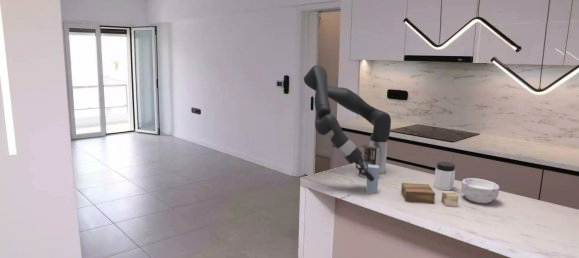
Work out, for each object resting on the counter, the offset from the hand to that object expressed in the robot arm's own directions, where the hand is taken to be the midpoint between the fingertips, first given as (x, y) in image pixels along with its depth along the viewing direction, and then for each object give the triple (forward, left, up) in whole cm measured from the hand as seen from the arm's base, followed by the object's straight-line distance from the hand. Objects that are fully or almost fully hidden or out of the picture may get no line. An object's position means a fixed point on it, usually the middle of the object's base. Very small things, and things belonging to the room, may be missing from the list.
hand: (372, 177), depth 185 cm
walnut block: (+3, +20, -7) cm, 21 cm away
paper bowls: (-3, +47, -7) cm, 47 cm away
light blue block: (0, 0, -7) cm, 7 cm away
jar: (-16, +34, -7) cm, 38 cm away
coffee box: (-23, -2, -7) cm, 24 cm away
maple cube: (+7, +33, -7) cm, 34 cm away
